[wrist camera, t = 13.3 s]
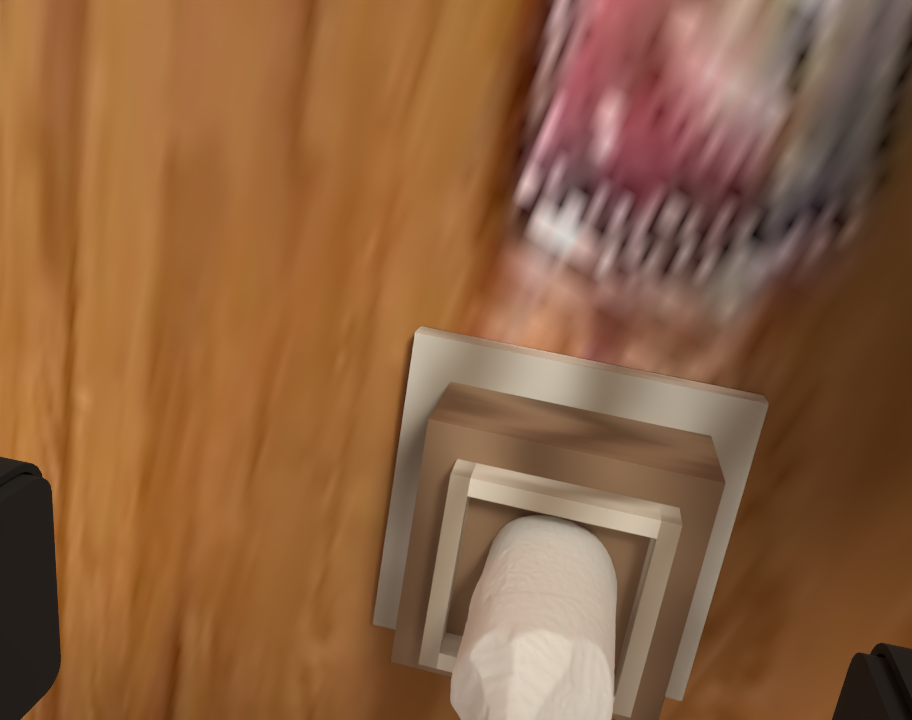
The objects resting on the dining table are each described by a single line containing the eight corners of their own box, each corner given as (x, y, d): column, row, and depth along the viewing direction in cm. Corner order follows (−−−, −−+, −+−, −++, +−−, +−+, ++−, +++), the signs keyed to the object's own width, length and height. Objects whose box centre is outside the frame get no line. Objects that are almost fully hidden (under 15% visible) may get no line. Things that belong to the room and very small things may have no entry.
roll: (657, 847, 23) (489, 902, 25) (642, 606, 35) (527, 655, 36) (548, 681, 23) (381, 750, 24) (569, 489, 34) (455, 545, 36)
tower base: (764, 395, 38) (800, 463, 30) (680, 685, 43) (693, 804, 35) (420, 326, 40) (377, 374, 32) (378, 611, 45) (332, 708, 37)
